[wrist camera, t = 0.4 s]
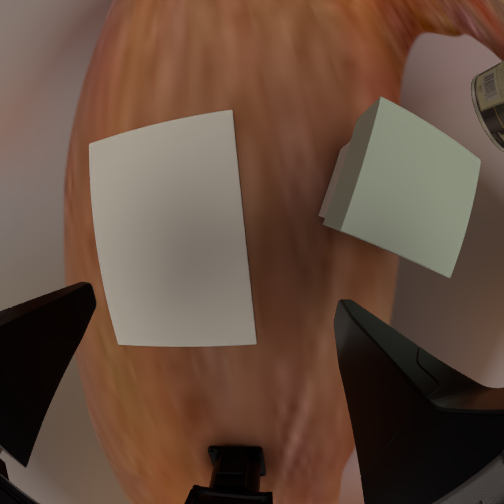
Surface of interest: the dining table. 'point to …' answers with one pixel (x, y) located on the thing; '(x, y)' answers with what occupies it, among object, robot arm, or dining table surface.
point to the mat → (173, 234)
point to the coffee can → (490, 102)
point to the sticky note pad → (405, 188)
